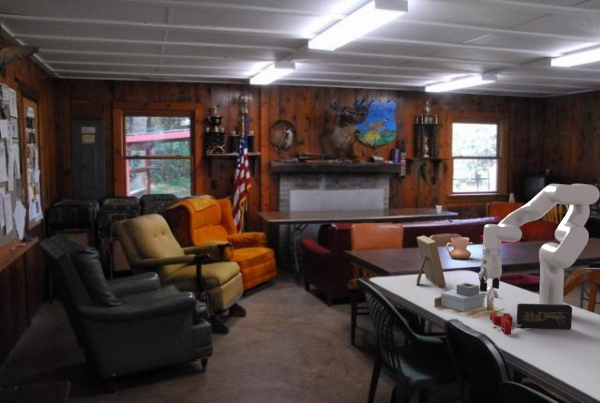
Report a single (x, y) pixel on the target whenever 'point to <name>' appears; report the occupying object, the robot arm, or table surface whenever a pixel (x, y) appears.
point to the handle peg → (490, 298)
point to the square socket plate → (463, 297)
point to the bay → (472, 313)
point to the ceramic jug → (459, 248)
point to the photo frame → (430, 261)
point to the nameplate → (544, 316)
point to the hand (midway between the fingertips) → (489, 289)
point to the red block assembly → (502, 321)
